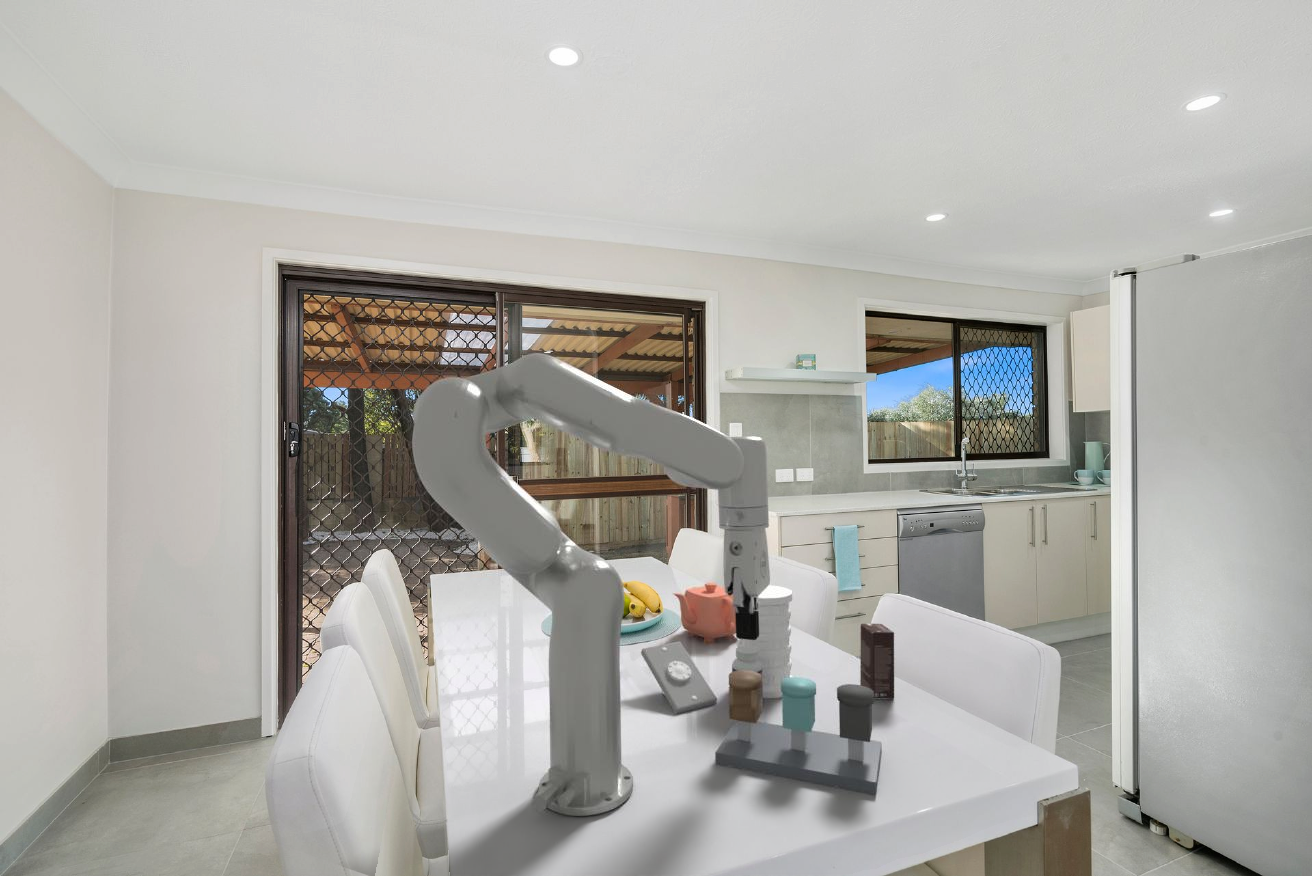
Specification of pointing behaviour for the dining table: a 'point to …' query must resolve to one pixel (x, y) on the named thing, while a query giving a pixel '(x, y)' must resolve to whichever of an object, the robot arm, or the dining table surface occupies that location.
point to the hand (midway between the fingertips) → (747, 637)
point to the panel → (802, 755)
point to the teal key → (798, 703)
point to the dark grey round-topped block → (855, 711)
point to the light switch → (678, 677)
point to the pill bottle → (747, 661)
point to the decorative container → (773, 638)
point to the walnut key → (745, 696)
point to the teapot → (708, 612)
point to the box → (877, 660)
